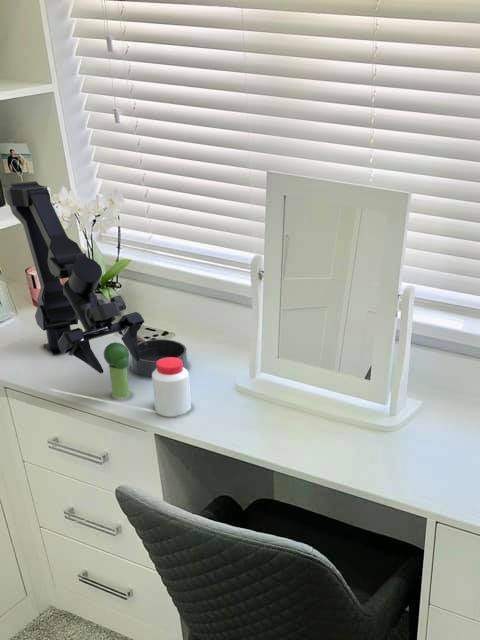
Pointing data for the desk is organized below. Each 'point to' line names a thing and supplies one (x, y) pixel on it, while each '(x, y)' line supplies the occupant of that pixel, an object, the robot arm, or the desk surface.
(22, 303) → the desk surface
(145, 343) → the pan handle
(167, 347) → the pan
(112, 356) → the broccoli
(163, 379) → the pill bottle
